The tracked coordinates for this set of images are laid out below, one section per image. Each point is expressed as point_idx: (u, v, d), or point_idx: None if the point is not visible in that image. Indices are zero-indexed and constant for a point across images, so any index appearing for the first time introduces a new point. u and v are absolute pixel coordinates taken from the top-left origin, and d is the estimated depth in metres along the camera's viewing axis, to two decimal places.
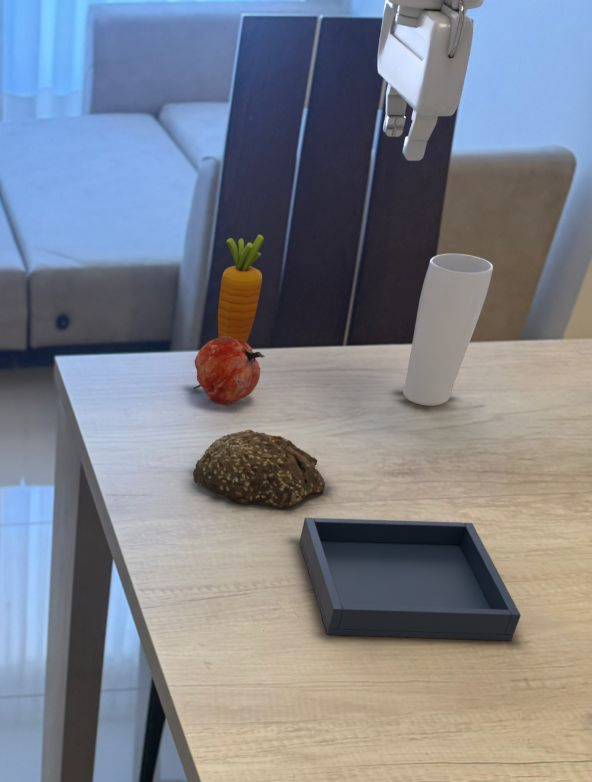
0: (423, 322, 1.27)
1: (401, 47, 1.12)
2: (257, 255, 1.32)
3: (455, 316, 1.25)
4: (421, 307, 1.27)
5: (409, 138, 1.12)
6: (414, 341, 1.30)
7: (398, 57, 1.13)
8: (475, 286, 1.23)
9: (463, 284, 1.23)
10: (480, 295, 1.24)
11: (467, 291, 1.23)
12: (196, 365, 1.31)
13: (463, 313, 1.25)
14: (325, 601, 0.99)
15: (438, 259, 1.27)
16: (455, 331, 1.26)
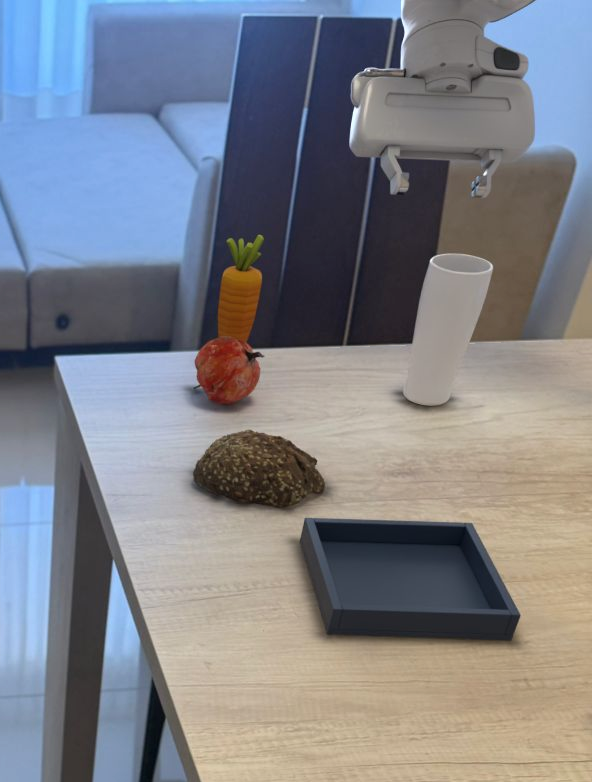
0: (423, 323, 1.27)
1: None
2: (257, 255, 1.32)
3: (455, 316, 1.25)
4: (421, 307, 1.27)
5: (389, 179, 1.31)
6: (414, 341, 1.30)
7: None
8: (475, 286, 1.23)
9: (463, 284, 1.23)
10: (480, 295, 1.24)
11: (467, 291, 1.23)
12: (196, 365, 1.31)
13: (463, 313, 1.25)
14: (325, 601, 0.99)
15: (438, 259, 1.27)
16: (455, 331, 1.26)
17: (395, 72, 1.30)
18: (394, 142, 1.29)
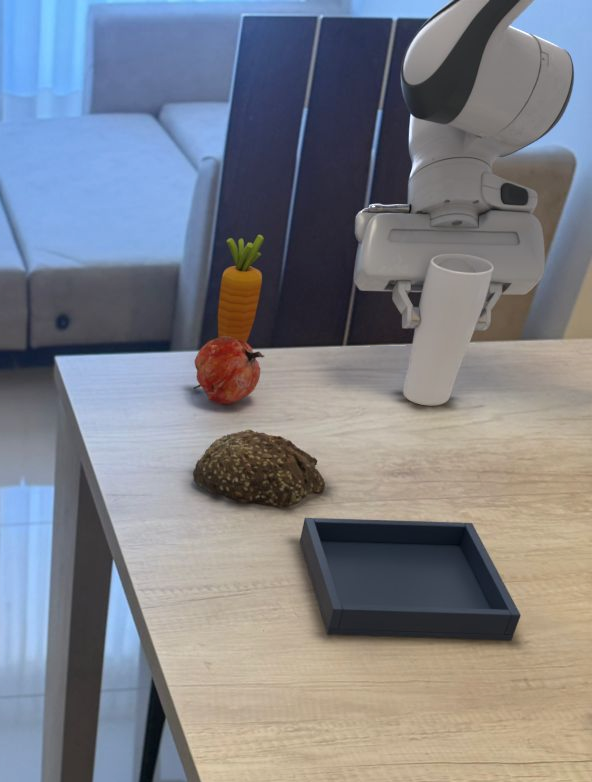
0: (423, 322, 1.27)
1: None
2: (257, 255, 1.32)
3: (455, 316, 1.25)
4: (421, 307, 1.27)
5: (401, 312, 1.30)
6: (414, 341, 1.30)
7: None
8: (475, 286, 1.23)
9: (463, 284, 1.23)
10: (480, 295, 1.24)
11: (467, 290, 1.23)
12: (196, 365, 1.31)
13: (463, 313, 1.25)
14: (325, 601, 0.99)
15: (439, 259, 1.27)
16: (455, 331, 1.26)
17: (400, 208, 1.29)
18: (397, 277, 1.27)
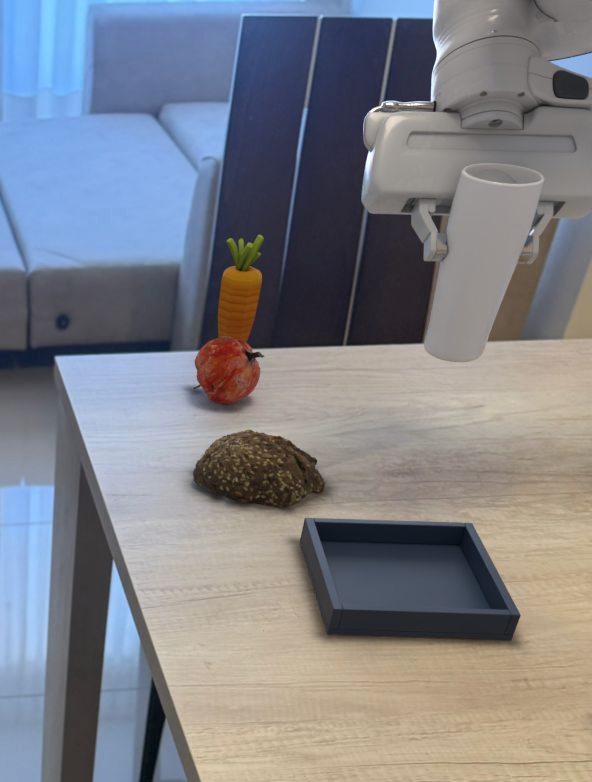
0: (452, 253, 0.99)
1: None
2: (257, 255, 1.32)
3: (494, 243, 0.96)
4: (449, 232, 0.98)
5: (423, 241, 1.01)
6: (439, 278, 1.01)
7: None
8: (521, 202, 0.94)
9: (505, 199, 0.94)
10: (527, 215, 0.95)
11: (510, 208, 0.94)
12: (196, 365, 1.31)
13: (504, 239, 0.96)
14: (325, 601, 0.99)
15: (472, 170, 0.98)
16: (493, 263, 0.97)
17: (422, 106, 1.00)
18: (418, 194, 0.99)
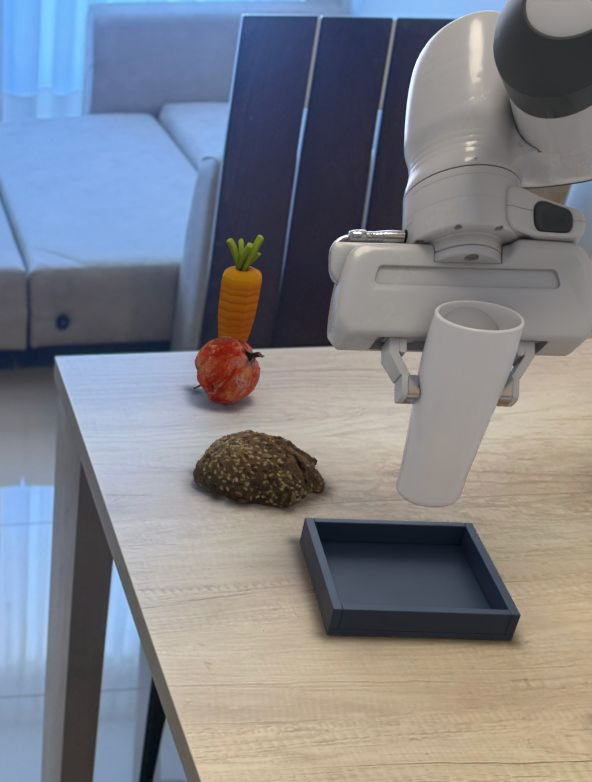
0: (425, 397, 0.91)
1: None
2: (257, 255, 1.32)
3: (470, 390, 0.88)
4: (422, 375, 0.90)
5: (394, 381, 0.93)
6: (412, 421, 0.93)
7: None
8: (499, 349, 0.86)
9: (482, 346, 0.86)
10: (506, 361, 0.87)
11: (487, 355, 0.86)
12: (196, 365, 1.31)
13: (481, 386, 0.88)
14: (325, 601, 0.99)
15: (447, 309, 0.90)
16: (470, 410, 0.89)
17: (392, 235, 0.92)
18: (388, 334, 0.90)
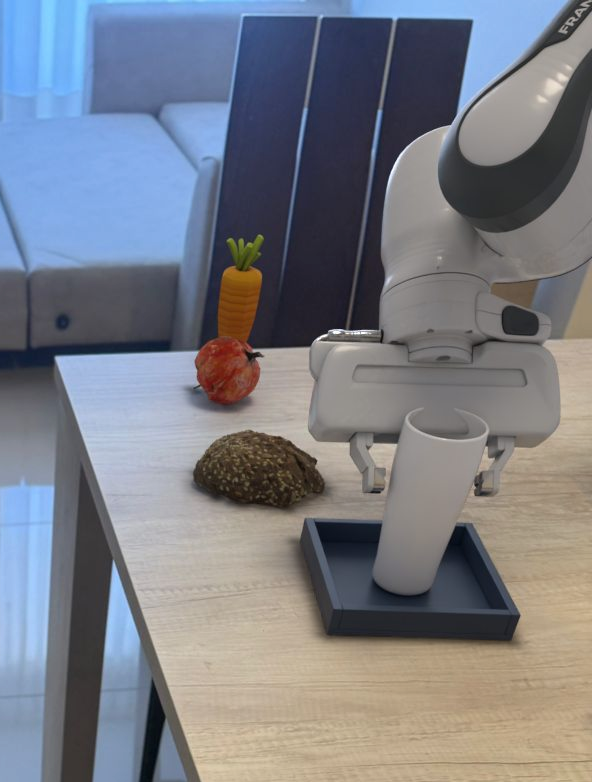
0: (397, 496, 0.96)
1: None
2: (257, 255, 1.32)
3: (439, 492, 0.94)
4: (394, 476, 0.96)
5: (361, 472, 0.98)
6: (385, 516, 0.99)
7: None
8: (465, 456, 0.92)
9: (448, 453, 0.92)
10: (472, 466, 0.93)
11: (454, 462, 0.92)
12: (196, 365, 1.31)
13: (449, 489, 0.94)
14: (325, 601, 0.99)
15: None
16: (439, 510, 0.95)
17: (369, 335, 0.97)
18: (365, 429, 0.96)
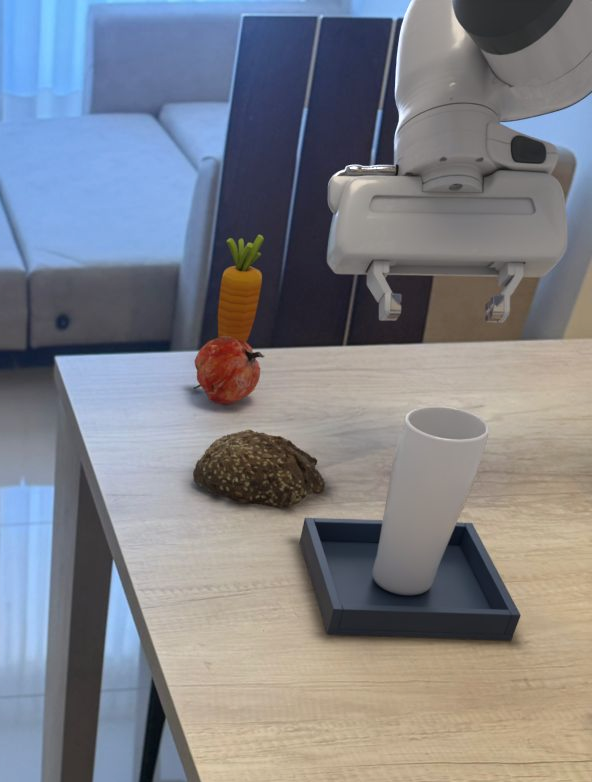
0: (397, 496, 0.96)
1: None
2: (257, 255, 1.32)
3: (439, 492, 0.94)
4: (394, 476, 0.96)
5: (378, 301, 1.03)
6: (385, 516, 0.99)
7: None
8: (465, 456, 0.92)
9: (449, 453, 0.92)
10: (472, 466, 0.93)
11: (454, 462, 0.92)
12: (196, 365, 1.31)
13: (449, 489, 0.94)
14: (325, 601, 0.99)
15: (417, 414, 0.96)
16: (439, 510, 0.95)
17: (384, 169, 1.02)
18: (381, 256, 1.01)
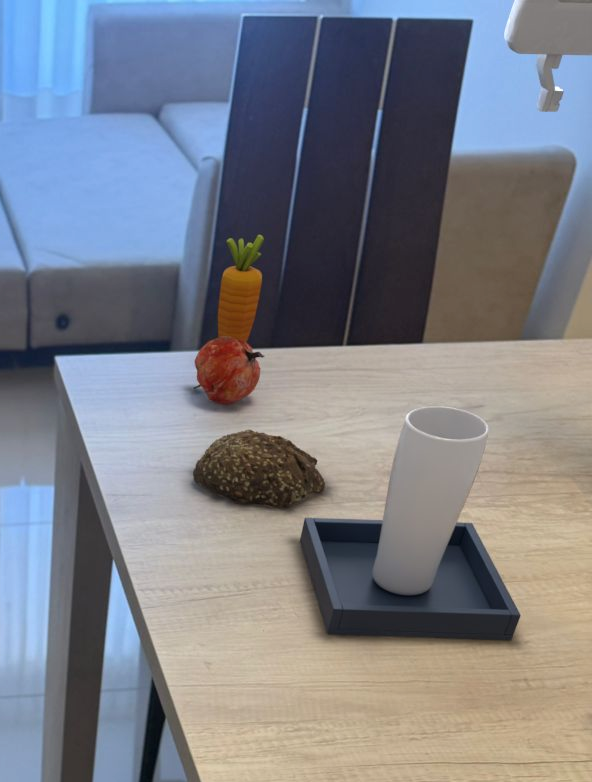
0: (397, 496, 0.96)
1: None
2: (257, 255, 1.32)
3: (439, 492, 0.94)
4: (394, 476, 0.96)
5: (542, 84, 1.07)
6: (385, 516, 0.99)
7: None
8: (465, 456, 0.92)
9: (449, 453, 0.92)
10: (472, 466, 0.93)
11: (454, 462, 0.92)
12: (196, 365, 1.31)
13: (449, 489, 0.94)
14: (325, 601, 0.99)
15: (417, 414, 0.96)
16: (439, 510, 0.95)
17: None
18: (555, 54, 1.03)
